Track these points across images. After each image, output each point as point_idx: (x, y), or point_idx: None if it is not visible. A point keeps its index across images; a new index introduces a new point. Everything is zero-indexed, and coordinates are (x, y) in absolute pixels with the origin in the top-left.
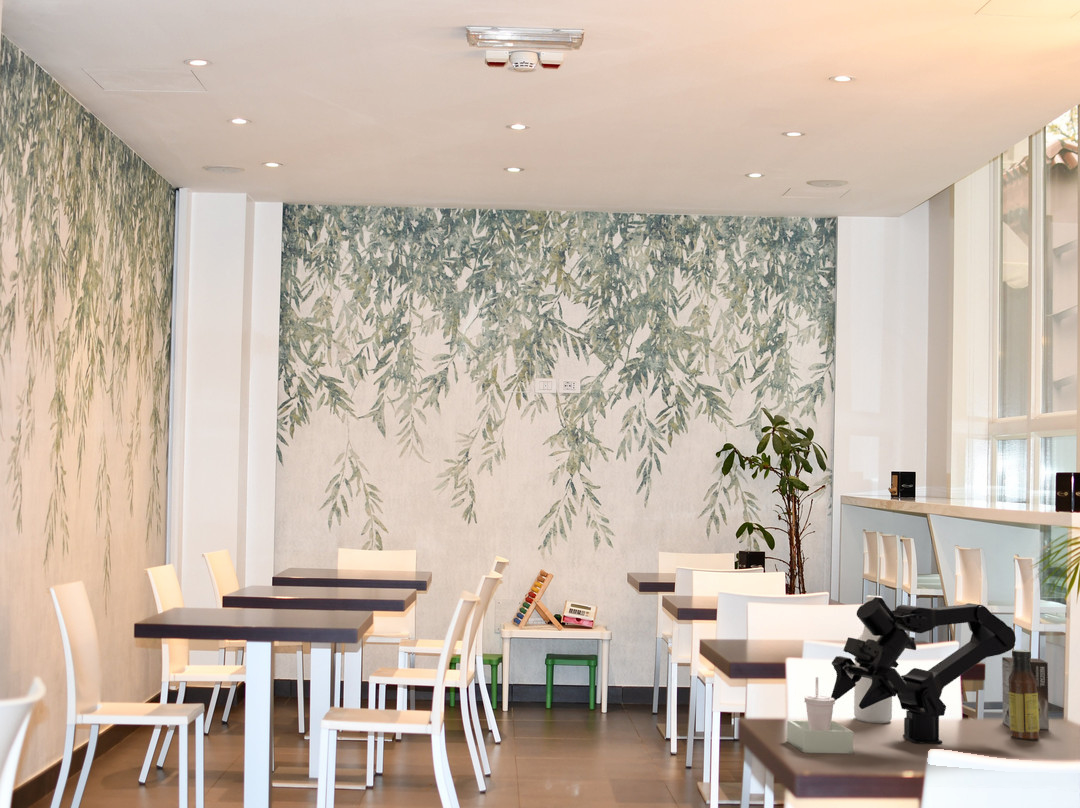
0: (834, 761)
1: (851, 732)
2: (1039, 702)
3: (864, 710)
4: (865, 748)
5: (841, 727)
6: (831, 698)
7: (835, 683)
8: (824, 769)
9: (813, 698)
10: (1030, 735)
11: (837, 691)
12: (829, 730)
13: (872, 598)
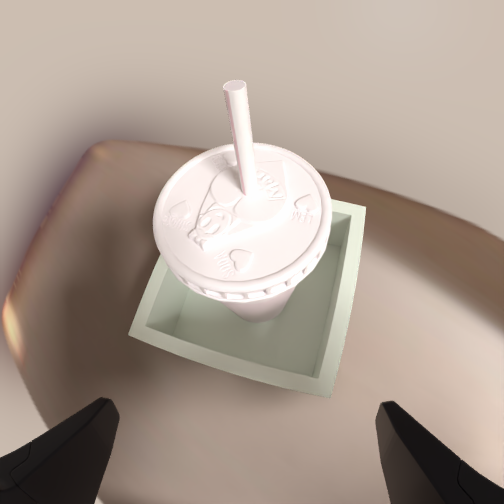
0: (119, 239)
1: (132, 330)
2: None
3: None
4: (207, 441)
5: (206, 348)
6: (215, 276)
7: (461, 464)
8: (92, 186)
9: (237, 167)
10: None
11: (399, 455)
12: None
13: None
